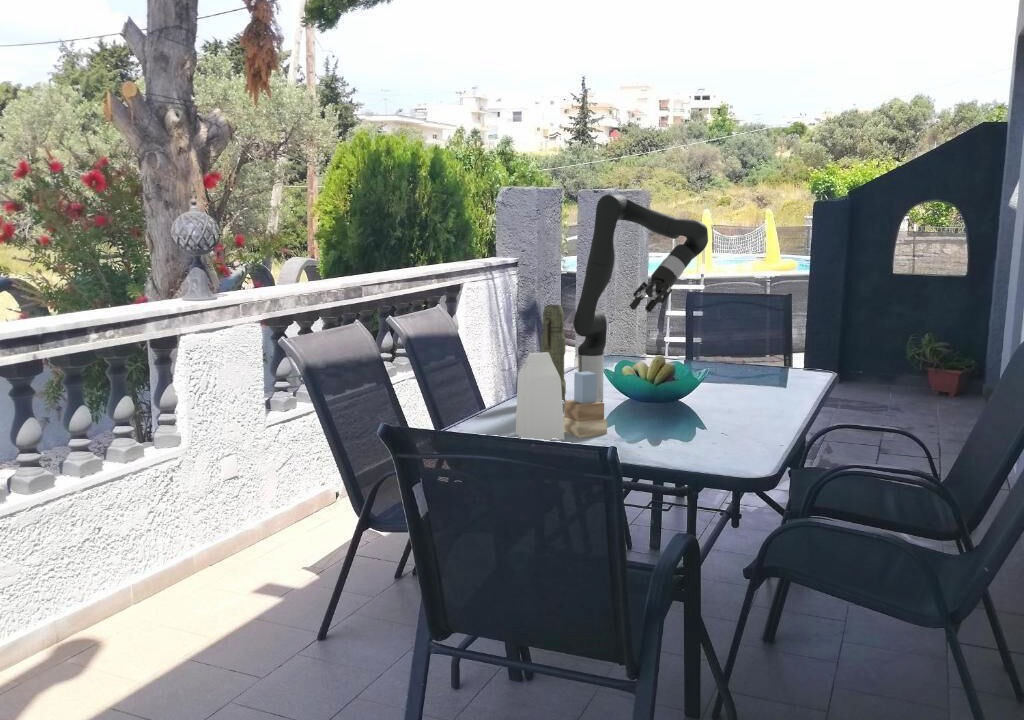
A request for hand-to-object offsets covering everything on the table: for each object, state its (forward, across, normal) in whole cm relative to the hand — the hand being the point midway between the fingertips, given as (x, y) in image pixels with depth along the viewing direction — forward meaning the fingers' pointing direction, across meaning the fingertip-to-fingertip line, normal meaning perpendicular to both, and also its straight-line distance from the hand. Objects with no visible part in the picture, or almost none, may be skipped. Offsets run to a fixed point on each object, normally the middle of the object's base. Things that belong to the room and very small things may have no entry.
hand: (639, 309), depth 293 cm
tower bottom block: (+44, +6, +9) cm, 45 cm away
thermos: (+32, -42, +21) cm, 56 cm away
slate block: (+36, +6, +2) cm, 37 cm away
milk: (+54, +4, -2) cm, 54 cm away
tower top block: (+40, +6, +5) cm, 41 cm away
